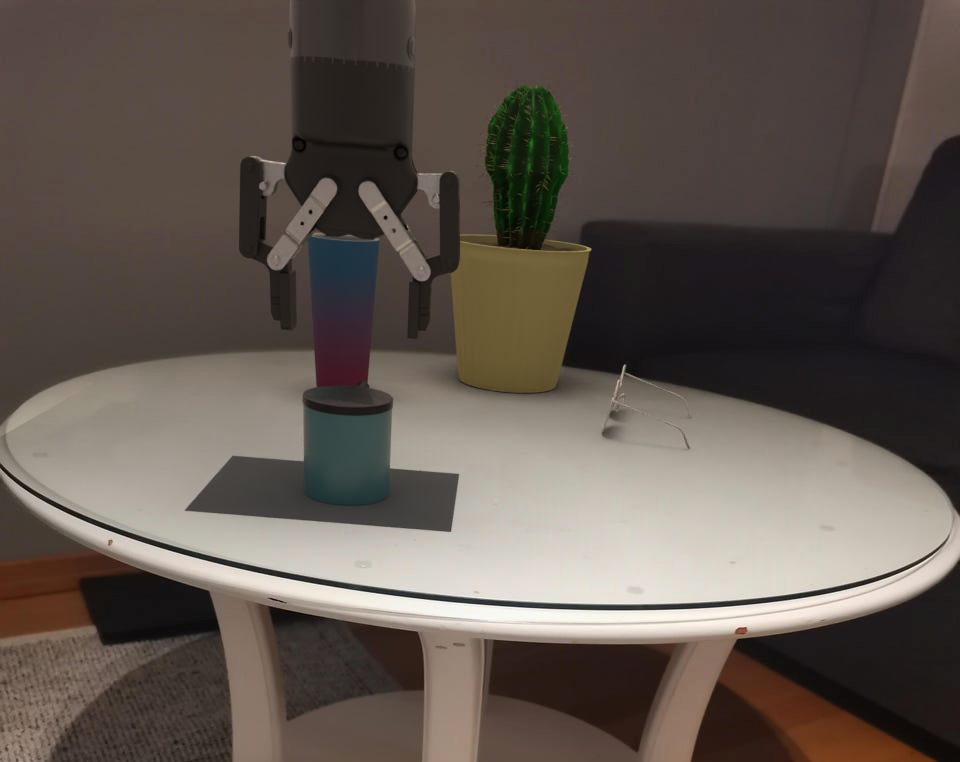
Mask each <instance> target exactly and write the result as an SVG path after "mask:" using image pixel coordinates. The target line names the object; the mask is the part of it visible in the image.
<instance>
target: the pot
mask: <svg viewBox="0 0 960 762" xmlns="http://www.w3.org/2000/svg"><path fill="white" fill-rule="evenodd" d="M302 405H303V407H302V408H303V409H302V410H303V411H302V413H303V416H302V417H303V418H302V419H303V420H302V421H303V461H304V492H305V494H306V495H307V496H309V497H310V498H312V499H314V500H317V501H320V502H324V503H329V504H335V505H366V504H372V503H376V502H379V501H382V500H384V499H385V498H387V497H388V495H389V484H390V468H391V456H392V455H391V453H392V427H393V426H392V425H393V408H394V398H393V396H392V395H391V394H389V393H388V392H385V391H384V390H380V389H376V388H371V387H370V384H369V383H367V382H365V381H359V382H357V383H356V384H355V386H322V387H316V386H315V387H312V388H309V389H306V390H304V391H303V393H302Z"/></svg>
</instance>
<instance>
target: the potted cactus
mask: <svg viewBox="0 0 960 762" xmlns="http://www.w3.org/2000/svg"><path fill="white" fill-rule="evenodd" d="M515 80H516V83H518V81H517V79H515ZM513 84H514V85H513V86H514V87H513V88H514V89H515V90H514V91H512V92H511V93H510V92H509V89H508V87H507V86H506V85H505V88H506V92H507V95H508V96H506V97H504V98H502V97H501V95H500V94H498V96H499V97H498V96H497V99H498V101H499V103H500V105H499V106H496V105H495V104H494V103H492V105H494V107H495V108H497V109H496V112H495V113H494V114H493V113H491V112H490V111H488V110H487V111H488V113H489V115H491V118H490V117H489V115H488V114H486V115H487V116H486V115H485V118H486V119H485V118H484V121H485V122H486V123H487V124H488V125H487V132H485V131H483V133H479V132H478V134H479V135H480V136H482V137H483V138H486V139H485V141H484V143H479V145H481V146H477V147H478V148H482V149H485V150H478V152H479V153H480V152H481V154H482V155H481V154H480V155H479V156H478V157H484V162H483V163H479V164H477V165H476V168H479V167H482V166H483V168H481V170H483V171H484V172H483V173H482V174H481V175H480V177H483V178H485V179H487V178H488V179H487V180H486V182H487V181H489V180H490V181H491V182H490V183H489V186H487V189H488V190H490V188H491V187H492V189H493V190H492V199H491V200H489V201H484V202H481V203H485V204H486V205H485V207H486V208H487V207H488V206H491V205H492V203H493V208H492V209H493V218H489V219H488V220H494V222H491V223H490V224H489V225H490V226H491V225H493V224H494V227H495V228H494V229H492V230H491V231H490V232H487V234H460V263H459V265H458V268H457V270H456V271H454V272H452V273H450V281H451V295H452V309H453V323H454V325H453V326H454V336H455V337H454V339H455V350H456V353H455V354H456V365H457V366H456V367H457V374H458V375H457V376H458V380H459V381H461V382H462V383H463V384H466V385H468V386H472V387H474V388H478V389H483V390H487V391H493V392H501V393H512V394H514V393H516V394H517V393H519V394H531V393H532V394H535V393H544V392H548V391H552V390H554V389H556V388H557V385H558V382H559V377H560V374H561V369H562V365H563V361H564V358H565V353H566V349H567V345H568V341H569V337H570V333H571V330H572V326H573V321H574V318H575V317H574V316H575V314H576V309H577V306H578V302H579V298H580V294H581V290H582V287H583V282H584V279H585V275H586V271H587V267H588V263H589V258H590V253H591V252H592V248H591V247H588V246H586V245H582V244H577V243H572V242H566V241H558V240H552V239H548V238H547V236H549V234H548V233H549V232H550V233H551V234H553V235H554V236H555V237H557V235H556V234H554V233H555V232H556V233H557V231H555V229H553V228H551V226H553V227H556V228H557V226H555V225H554V224H553V222H557V223H560V224H561V222H558V221H557V220H556V219H554V218H560V217H559V216H556V215H555V214H556V213H557V211H556V209H558V208H559V209H562V207H561V206H559V205H558V201H559V198H561V197H564V196H563V195H566V197H567V198H569V196H568V195H567V194H566V193H567V189H566V188H565V187H564V186H563V185H564V183H565V182H568V180H567V179H569V180H570V181H572V182H574V180H572V179H573V177H571V176H570V175H572V176H574V173H573V172H571V173H570V172H569V171H570V169H569V163H570V162H571V161H572V160H573V159H574V158H576V157H578V155H577V156H576V155H575V156H573V157H570V158H569V153H570V150H569V147H570V148H573V147H576V146H577V144H575V143H573V142H574V141H575V142H576V140H577V139H574V140H572V141H569V140H568V139H569V137H568V133H569V130H567V129H568V128H570V126H572V125H573V123H571V124H570V125H567V127H566V123H565V122H564V121H563V120H562V119H564V118H565V117H567V116H569V115H573V114H574V113H570V114H569V113H566V114H562V112H564V111H566V110H568V109H569V107H568V106H567V107H565V108H564V107H563V104H558V103H557V102H556V100H557V99H558V97H555V99H554V93H555V91H556V90H553V91H550V89H552V88H553V86H550V84H547V86H546V87H547V88H544V86H542V85H539V86H538V85H537V83H535V84H536V87H535V85H532V87H530V86H529V85H527V84H523V85H520V87H517V85H516V84H515V83H513ZM562 108H563V109H562ZM484 134H485V135H487V136H485V135H484ZM571 143H573V144H571ZM569 144H570V145H569ZM483 154H484V155H483ZM568 185H570V183H568ZM560 191H562V192H563V193H562V192H560ZM565 192H566V193H565ZM560 196H561V197H560ZM487 203H489V204H488V205H487ZM494 230H496V231H495V232H496V235H495V234H494V235H493V234H491V233H492V232H494ZM553 232H554V233H553ZM488 233H490V234H488Z"/></svg>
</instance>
